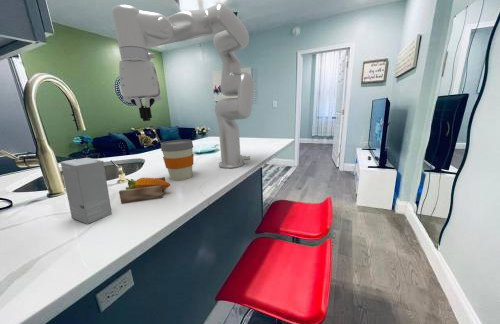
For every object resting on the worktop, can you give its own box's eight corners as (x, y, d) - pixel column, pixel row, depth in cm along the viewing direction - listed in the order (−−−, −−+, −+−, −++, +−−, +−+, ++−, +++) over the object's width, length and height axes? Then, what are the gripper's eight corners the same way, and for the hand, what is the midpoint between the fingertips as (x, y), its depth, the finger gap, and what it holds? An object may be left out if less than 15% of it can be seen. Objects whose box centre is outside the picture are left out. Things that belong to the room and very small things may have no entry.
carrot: (173, 177, 72) (132, 178, 73) (167, 176, 67) (123, 177, 68) (173, 192, 72) (131, 192, 73) (166, 192, 67) (121, 192, 68)
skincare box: (71, 218, 56) (54, 162, 52) (99, 207, 62) (87, 156, 58) (87, 225, 52) (71, 165, 48) (116, 212, 58) (103, 158, 54)
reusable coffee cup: (166, 174, 92) (161, 141, 88) (195, 171, 96) (192, 138, 92) (164, 183, 80) (158, 145, 77) (197, 179, 84) (193, 142, 80)
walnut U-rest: (166, 187, 76) (164, 177, 75) (162, 197, 67) (160, 186, 66) (130, 192, 73) (128, 181, 72) (121, 203, 64) (118, 191, 63)
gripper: (164, 60, 66) (173, 118, 71) (111, 60, 62) (124, 121, 67) (160, 54, 59) (170, 119, 63) (101, 53, 55) (116, 123, 60)
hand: (146, 120), depth 65 cm, fingers closed
